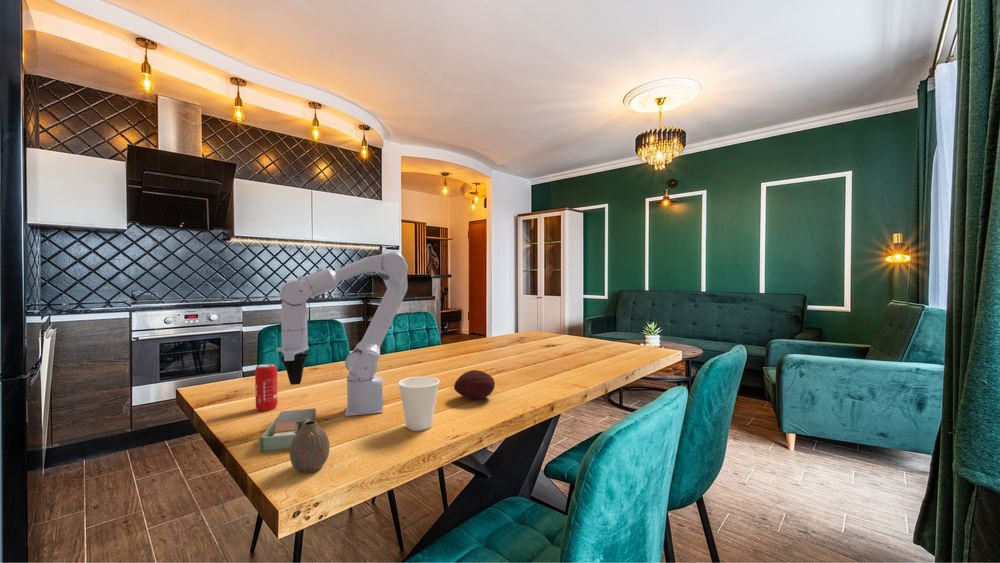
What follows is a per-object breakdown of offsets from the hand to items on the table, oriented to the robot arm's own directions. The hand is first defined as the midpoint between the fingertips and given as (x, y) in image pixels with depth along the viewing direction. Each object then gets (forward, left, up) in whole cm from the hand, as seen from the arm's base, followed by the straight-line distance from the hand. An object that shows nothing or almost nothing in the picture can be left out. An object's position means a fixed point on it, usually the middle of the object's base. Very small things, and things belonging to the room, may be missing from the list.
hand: (295, 383), depth 100 cm
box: (0, +12, -10) cm, 15 cm away
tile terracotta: (0, +10, -8) cm, 13 cm away
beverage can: (+10, -14, -10) cm, 20 cm away
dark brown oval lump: (-47, -6, -10) cm, 49 cm away
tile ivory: (0, +14, -8) cm, 15 cm away
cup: (-29, +11, -10) cm, 33 cm away
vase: (-7, +26, -10) cm, 29 cm away
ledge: (0, +2, -10) cm, 10 cm away
